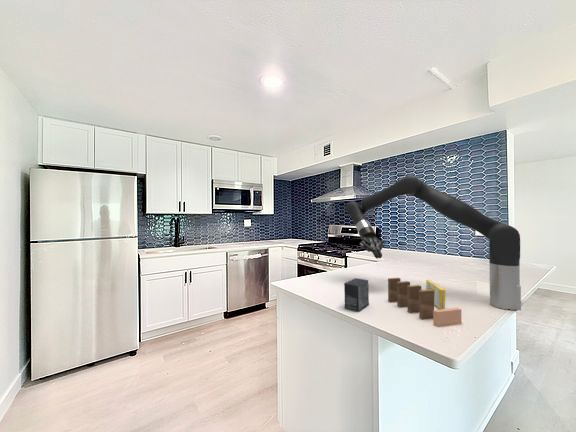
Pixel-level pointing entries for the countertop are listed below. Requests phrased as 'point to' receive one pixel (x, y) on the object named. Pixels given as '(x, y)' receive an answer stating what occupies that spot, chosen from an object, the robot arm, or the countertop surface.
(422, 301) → the domino
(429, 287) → the candy box
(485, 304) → the countertop surface
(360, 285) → the small box
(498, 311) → the countertop surface
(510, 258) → the robot arm
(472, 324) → the countertop surface
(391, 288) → the domino
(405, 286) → the domino
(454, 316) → the domino
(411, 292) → the domino
